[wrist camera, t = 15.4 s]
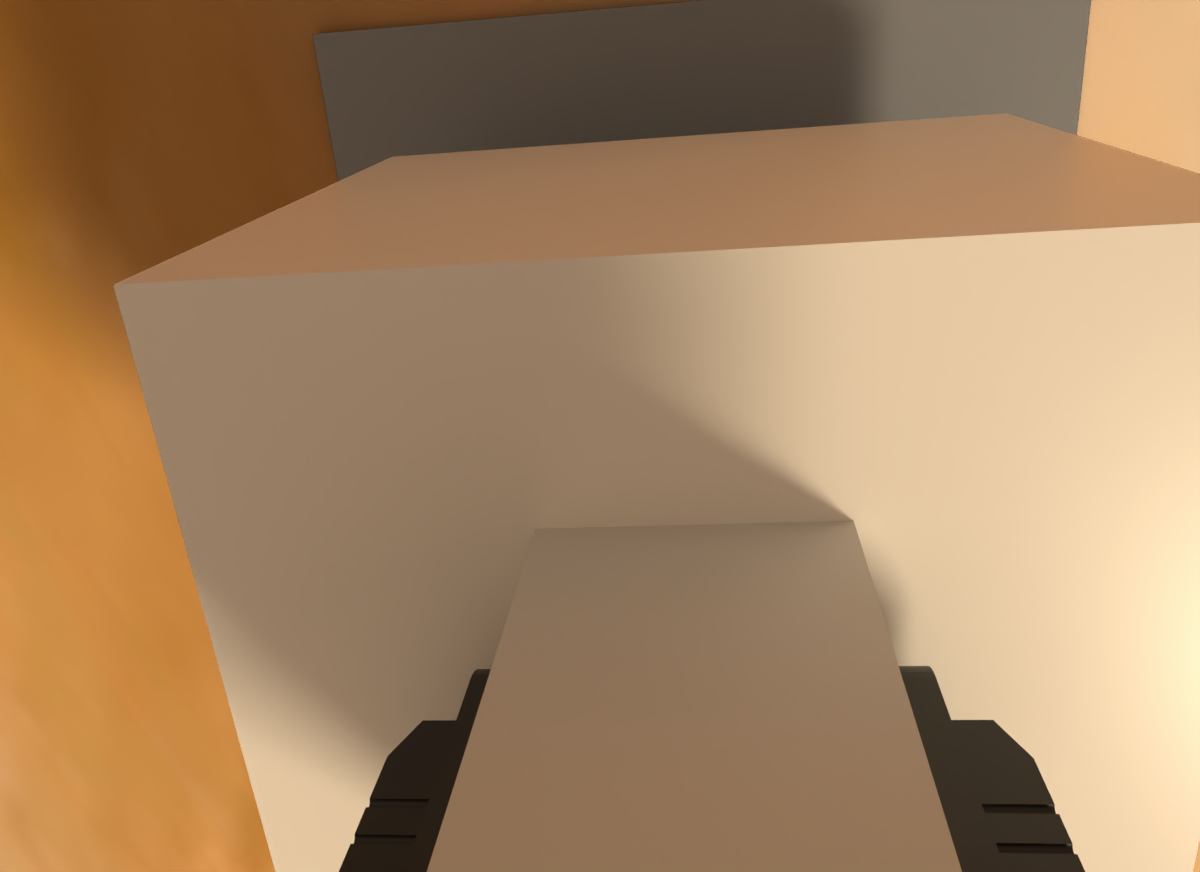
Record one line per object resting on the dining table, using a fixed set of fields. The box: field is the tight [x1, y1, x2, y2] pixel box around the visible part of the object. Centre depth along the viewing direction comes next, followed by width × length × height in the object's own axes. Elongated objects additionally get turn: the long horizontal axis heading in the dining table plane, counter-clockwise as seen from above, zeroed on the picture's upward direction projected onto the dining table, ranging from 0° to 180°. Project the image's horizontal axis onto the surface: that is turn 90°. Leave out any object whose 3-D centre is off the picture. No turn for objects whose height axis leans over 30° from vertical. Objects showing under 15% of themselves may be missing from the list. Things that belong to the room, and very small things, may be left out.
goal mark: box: [312, 0, 1091, 181], centre depth 20 cm, size 14×14×1 cm
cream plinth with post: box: [113, 113, 1200, 872], centre depth 12 cm, size 10×10×14 cm
